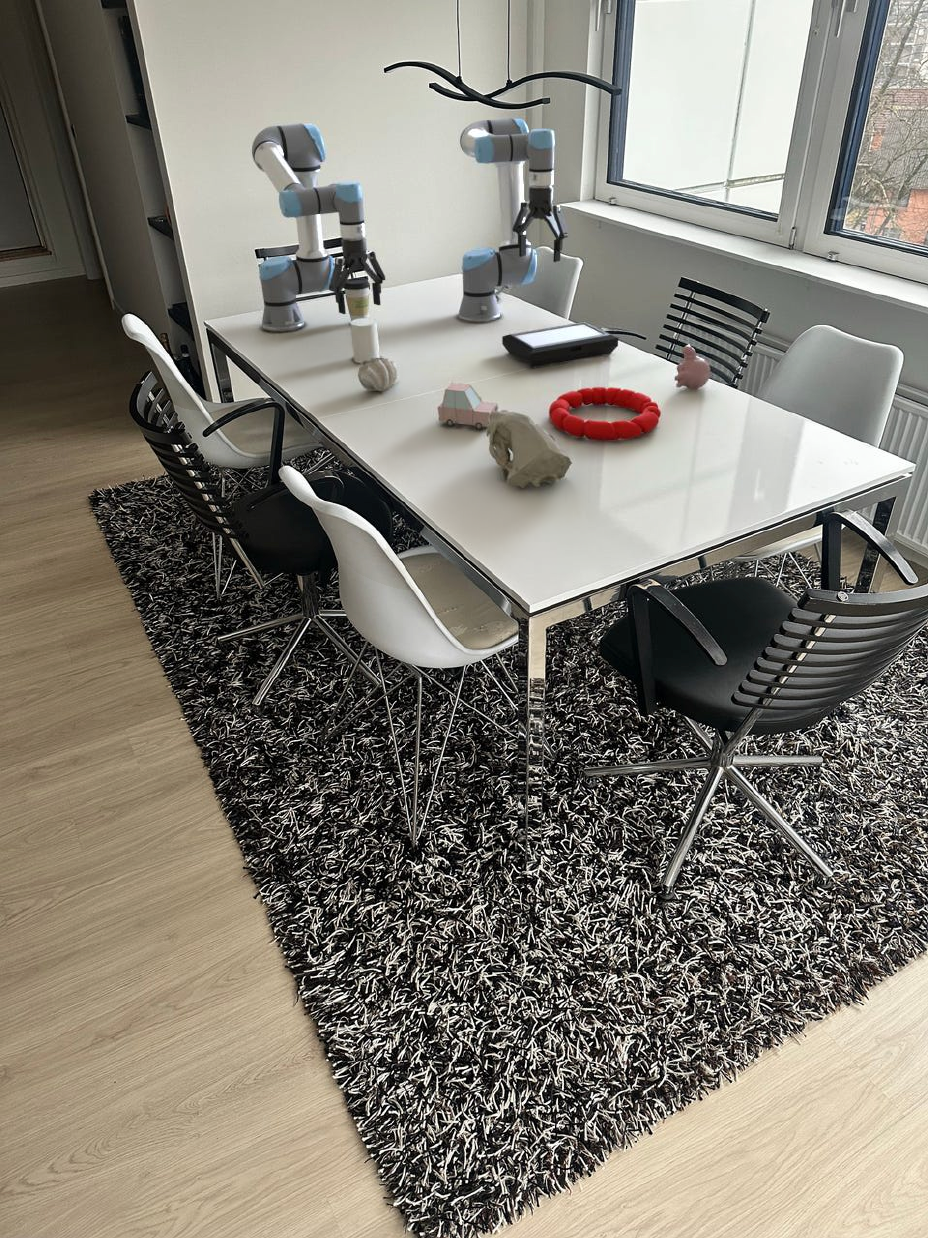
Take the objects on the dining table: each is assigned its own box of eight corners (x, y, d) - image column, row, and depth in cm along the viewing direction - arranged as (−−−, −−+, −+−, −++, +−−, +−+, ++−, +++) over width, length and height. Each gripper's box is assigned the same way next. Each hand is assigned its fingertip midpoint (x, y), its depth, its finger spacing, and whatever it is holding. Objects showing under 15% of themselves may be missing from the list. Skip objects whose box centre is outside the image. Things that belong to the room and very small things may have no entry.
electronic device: (530, 350, 276) (502, 333, 291) (530, 370, 279) (502, 352, 294) (618, 335, 286) (586, 319, 301) (617, 354, 290) (585, 338, 305)
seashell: (350, 390, 269) (347, 357, 264) (395, 380, 275) (392, 348, 270) (364, 400, 262) (360, 367, 256) (409, 390, 268) (407, 357, 262)
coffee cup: (372, 326, 323) (368, 283, 314) (345, 327, 323) (340, 284, 315) (374, 318, 331) (371, 276, 322) (348, 319, 331) (344, 277, 323)
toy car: (488, 432, 240) (488, 396, 234) (436, 426, 244) (434, 390, 239) (499, 419, 247) (499, 384, 241) (448, 413, 252) (447, 379, 246)
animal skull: (496, 517, 219) (521, 479, 201) (463, 429, 225) (484, 384, 207) (557, 503, 225) (586, 465, 206) (523, 417, 231) (549, 373, 212)
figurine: (665, 387, 264) (669, 347, 257) (693, 380, 268) (698, 340, 261) (686, 396, 257) (690, 355, 250) (714, 388, 262) (720, 348, 255)
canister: (349, 361, 292) (345, 323, 285) (363, 353, 298) (359, 316, 291) (370, 364, 289) (367, 326, 282) (384, 357, 295) (381, 319, 288)
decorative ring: (589, 435, 224) (684, 402, 234) (527, 398, 247) (617, 369, 256) (589, 461, 229) (683, 427, 238) (529, 422, 251) (617, 393, 260)
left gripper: (326, 246, 263) (334, 319, 275) (393, 233, 276) (398, 302, 289) (312, 242, 268) (320, 314, 280) (379, 229, 281) (384, 298, 293)
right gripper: (501, 184, 279) (501, 255, 291) (567, 191, 266) (564, 265, 278) (516, 180, 284) (515, 251, 296) (581, 187, 270) (578, 260, 282)
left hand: (360, 308), depth 284 cm, fingers open, 13 cm apart
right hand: (539, 258), depth 287 cm, fingers open, 13 cm apart
